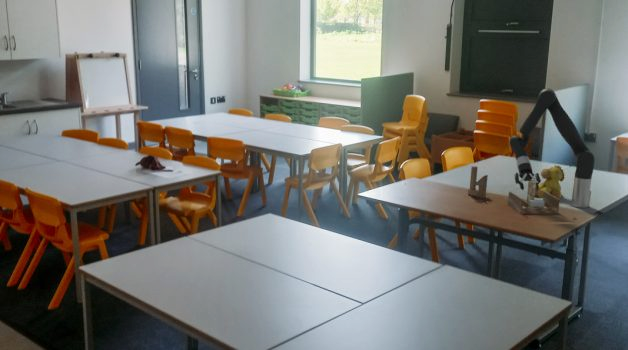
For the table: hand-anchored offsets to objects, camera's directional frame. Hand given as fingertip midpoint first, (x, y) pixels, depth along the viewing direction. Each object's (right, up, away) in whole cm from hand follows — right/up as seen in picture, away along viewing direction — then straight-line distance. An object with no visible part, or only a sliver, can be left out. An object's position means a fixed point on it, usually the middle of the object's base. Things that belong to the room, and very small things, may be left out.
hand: (530, 189), depth 378 cm
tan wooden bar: (0, -10, +1) cm, 10 cm away
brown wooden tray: (0, -12, -3) cm, 13 cm away
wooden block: (-24, -5, +27) cm, 37 cm away
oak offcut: (+1, -12, -7) cm, 14 cm away
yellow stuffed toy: (+22, -5, +33) cm, 40 cm away
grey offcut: (+1, -9, -8) cm, 12 cm away
